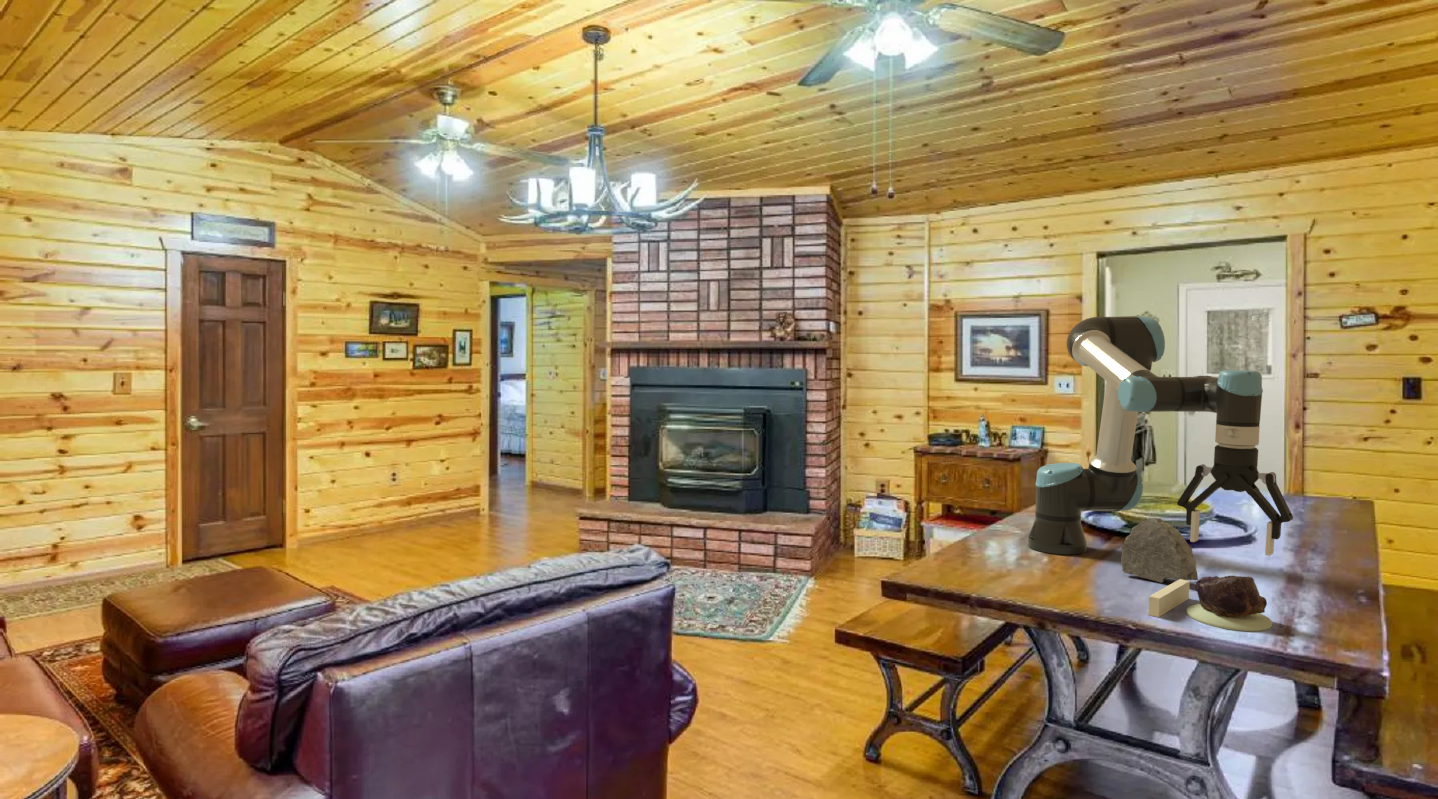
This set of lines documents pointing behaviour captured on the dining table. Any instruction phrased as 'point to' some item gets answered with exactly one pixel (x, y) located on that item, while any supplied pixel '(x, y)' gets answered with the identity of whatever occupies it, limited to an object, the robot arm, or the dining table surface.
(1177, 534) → the decorative rock
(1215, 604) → the rock
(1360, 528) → the dining table surface
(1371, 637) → the dining table surface
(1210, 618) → the felt pad
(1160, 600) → the rail
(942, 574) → the dining table surface
